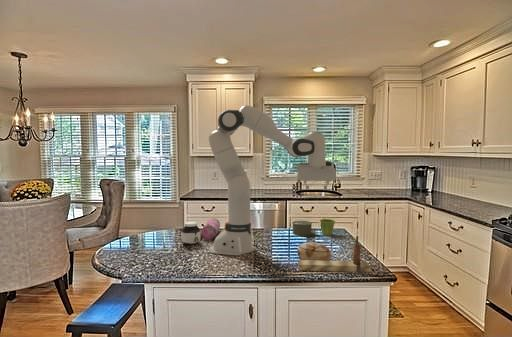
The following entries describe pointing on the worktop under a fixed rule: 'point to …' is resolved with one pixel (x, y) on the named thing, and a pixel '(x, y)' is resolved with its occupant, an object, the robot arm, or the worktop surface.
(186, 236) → the spread jar
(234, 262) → the worktop surface
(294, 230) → the can
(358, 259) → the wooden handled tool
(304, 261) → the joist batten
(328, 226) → the plant pot
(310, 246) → the trinket box
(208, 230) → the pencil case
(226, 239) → the robot arm
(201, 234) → the pencil case cradle
